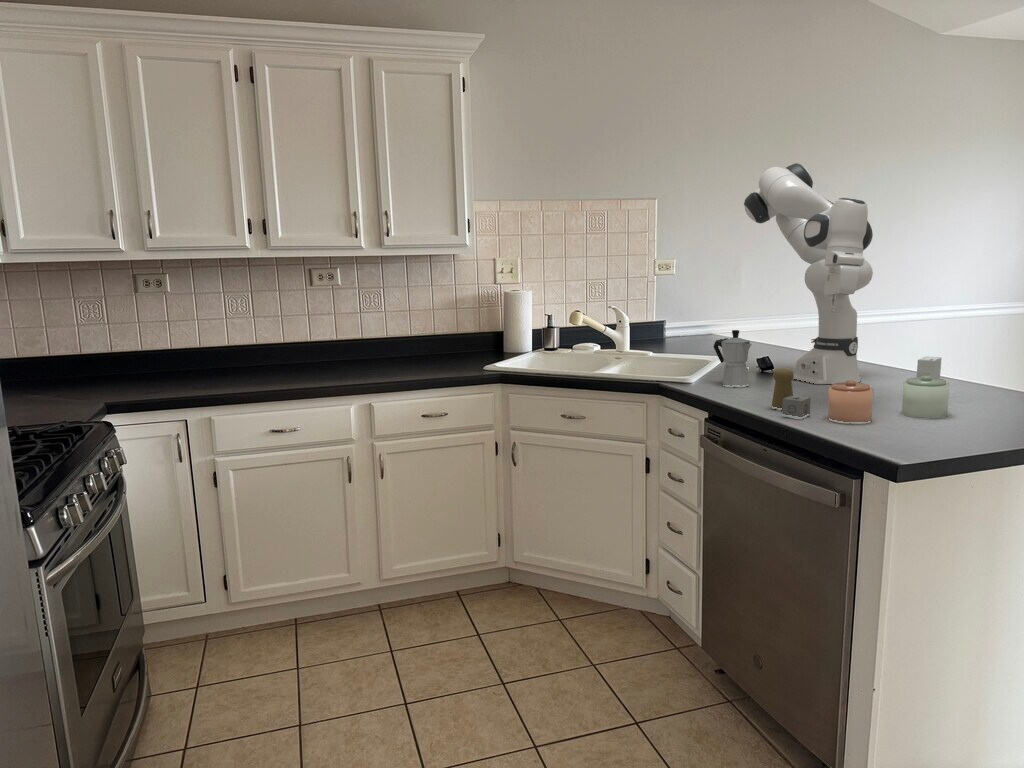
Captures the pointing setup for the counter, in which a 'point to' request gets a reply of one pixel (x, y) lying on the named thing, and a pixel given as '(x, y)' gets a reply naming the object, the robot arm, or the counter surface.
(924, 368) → the skincare box
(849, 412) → the terracotta canister
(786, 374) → the cork
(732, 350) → the coffee maker
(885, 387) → the counter surface
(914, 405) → the sage canister
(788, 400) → the dice cube
